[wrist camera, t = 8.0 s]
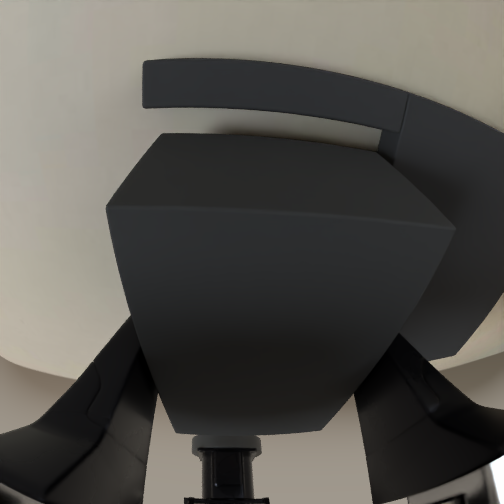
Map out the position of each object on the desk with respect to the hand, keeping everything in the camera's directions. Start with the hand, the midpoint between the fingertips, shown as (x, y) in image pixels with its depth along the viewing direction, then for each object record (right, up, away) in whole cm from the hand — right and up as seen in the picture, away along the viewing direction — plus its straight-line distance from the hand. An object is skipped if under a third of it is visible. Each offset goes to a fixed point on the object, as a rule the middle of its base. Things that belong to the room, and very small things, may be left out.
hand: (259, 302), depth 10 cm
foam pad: (0, +1, +1) cm, 1 cm away
